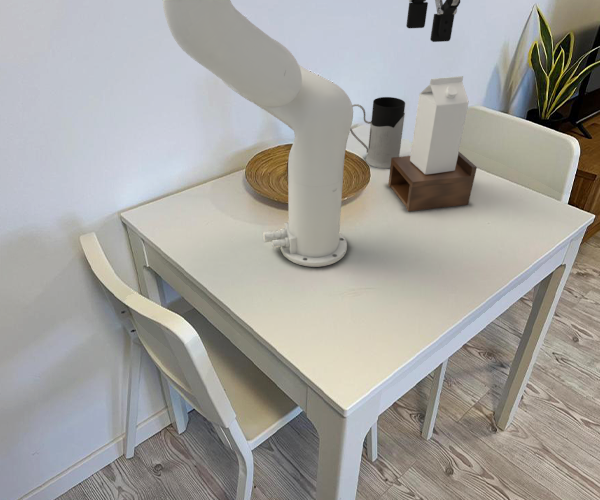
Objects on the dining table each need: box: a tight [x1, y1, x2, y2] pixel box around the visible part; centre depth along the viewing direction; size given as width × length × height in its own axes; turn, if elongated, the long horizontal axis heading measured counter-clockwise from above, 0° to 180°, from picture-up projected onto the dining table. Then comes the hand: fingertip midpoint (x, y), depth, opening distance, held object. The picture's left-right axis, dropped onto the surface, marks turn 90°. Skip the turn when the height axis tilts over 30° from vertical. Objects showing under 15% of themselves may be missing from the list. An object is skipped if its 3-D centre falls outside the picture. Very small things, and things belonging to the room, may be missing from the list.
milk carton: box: [409, 75, 469, 175], centre depth 105 cm, size 7×7×19 cm
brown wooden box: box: [387, 151, 478, 212], centre depth 112 cm, size 14×12×9 cm
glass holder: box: [350, 96, 406, 169], centre depth 125 cm, size 9×14×15 cm, turn 77°
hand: (427, 34), depth 85 cm, fingers open, 9 cm apart
